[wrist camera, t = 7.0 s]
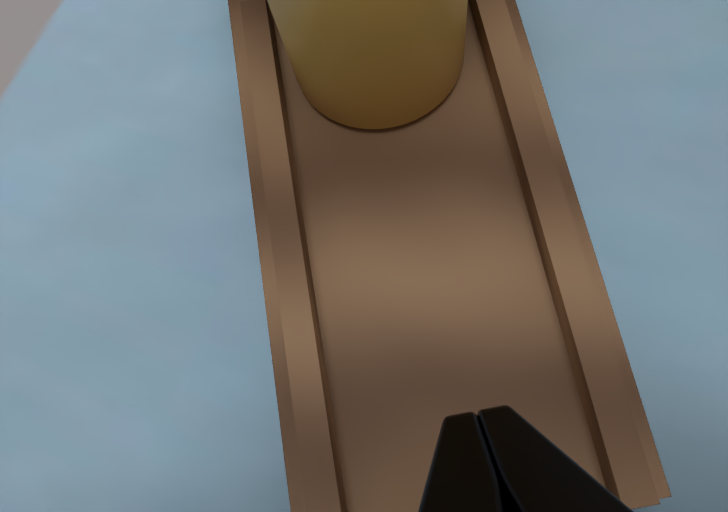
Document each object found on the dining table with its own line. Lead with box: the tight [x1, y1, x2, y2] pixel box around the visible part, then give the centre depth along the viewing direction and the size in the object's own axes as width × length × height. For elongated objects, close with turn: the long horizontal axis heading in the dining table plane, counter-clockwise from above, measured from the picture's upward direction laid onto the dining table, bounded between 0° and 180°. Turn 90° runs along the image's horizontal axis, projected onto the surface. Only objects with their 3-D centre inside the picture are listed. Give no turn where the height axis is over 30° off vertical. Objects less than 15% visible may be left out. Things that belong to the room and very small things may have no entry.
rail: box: [228, 0, 671, 512], centre depth 14 cm, size 19×9×11 cm, turn 10°
